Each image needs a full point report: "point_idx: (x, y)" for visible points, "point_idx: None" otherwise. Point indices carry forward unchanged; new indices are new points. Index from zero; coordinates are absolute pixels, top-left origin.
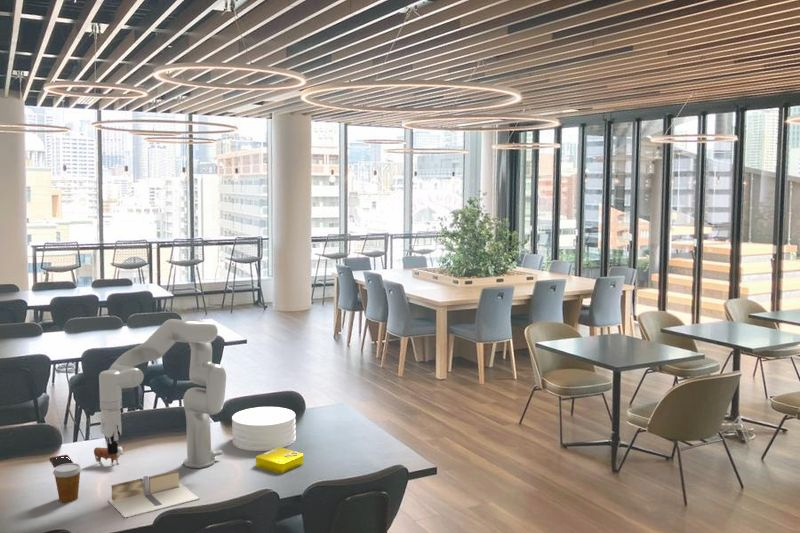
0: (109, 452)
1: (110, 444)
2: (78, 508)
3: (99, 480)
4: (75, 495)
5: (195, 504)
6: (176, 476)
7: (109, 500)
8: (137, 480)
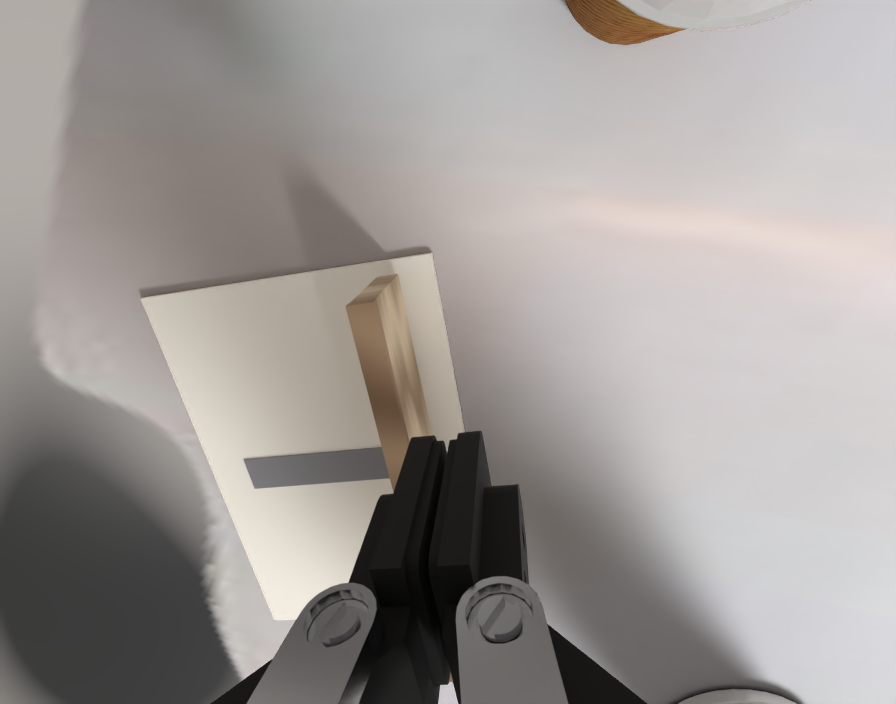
0: (410, 459)
1: (380, 586)
2: (395, 31)
3: (883, 251)
4: (576, 9)
5: (226, 591)
6: None
7: (425, 258)
8: (392, 475)
